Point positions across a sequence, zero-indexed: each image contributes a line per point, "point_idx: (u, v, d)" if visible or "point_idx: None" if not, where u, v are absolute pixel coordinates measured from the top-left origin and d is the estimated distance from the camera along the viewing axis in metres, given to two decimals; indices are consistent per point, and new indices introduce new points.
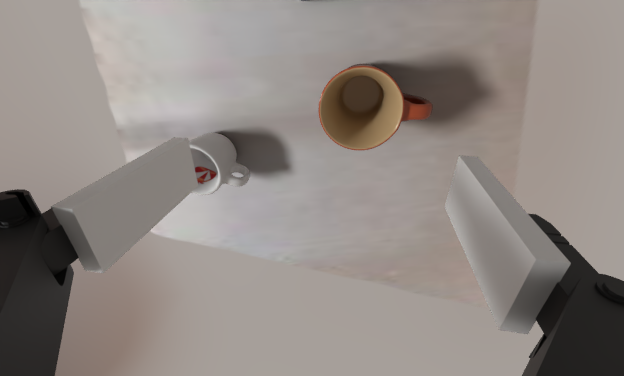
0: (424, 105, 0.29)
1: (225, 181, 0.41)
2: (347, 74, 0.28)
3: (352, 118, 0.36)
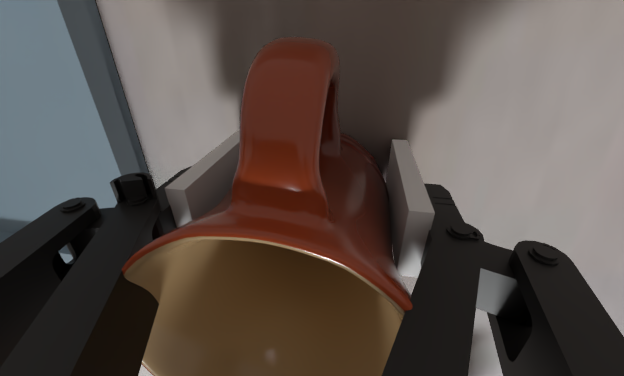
0: (242, 106, 0.05)
1: None
2: (168, 350, 0.09)
3: None
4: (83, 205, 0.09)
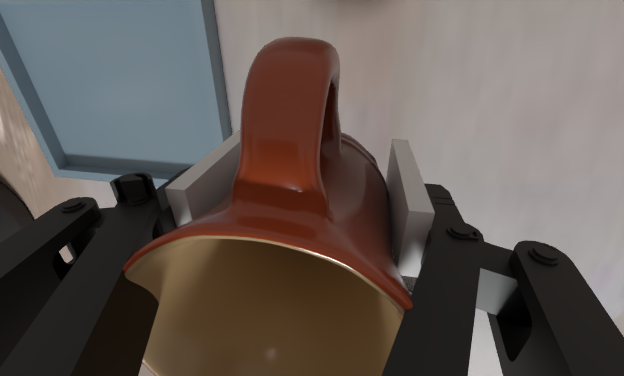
0: (243, 105, 0.05)
1: None
2: (169, 349, 0.09)
3: None
4: (83, 205, 0.09)
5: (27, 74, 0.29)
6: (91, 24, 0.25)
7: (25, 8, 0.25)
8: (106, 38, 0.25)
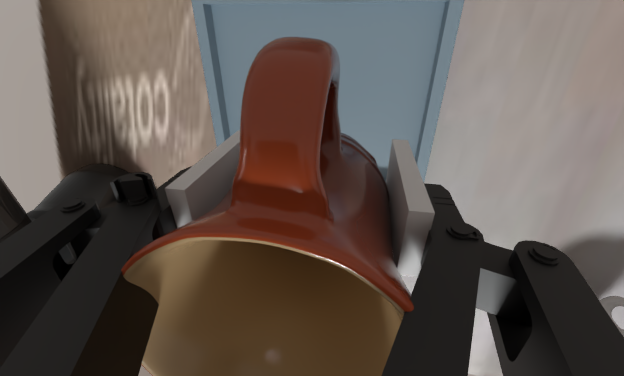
0: (242, 106, 0.05)
1: None
2: (168, 350, 0.09)
3: None
4: (83, 205, 0.09)
5: (220, 75, 0.28)
6: (312, 24, 0.25)
7: (243, 8, 0.25)
8: (324, 38, 0.25)
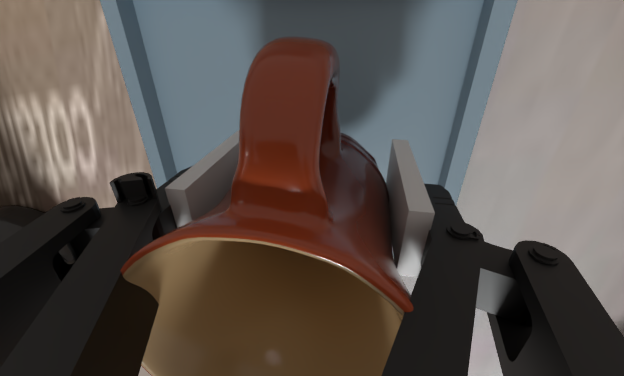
0: (242, 106, 0.05)
1: None
2: (167, 351, 0.09)
3: None
4: (83, 205, 0.09)
5: (156, 96, 0.20)
6: (283, 23, 0.16)
7: None
8: None
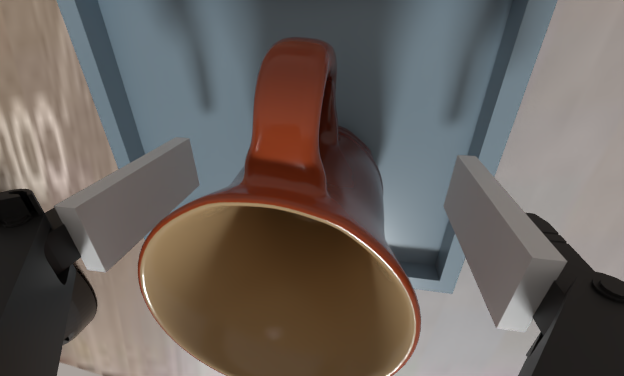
0: (255, 93, 0.06)
1: None
2: (183, 315, 0.10)
3: None
4: None
5: (129, 105, 0.17)
6: (271, 21, 0.14)
7: None
8: None
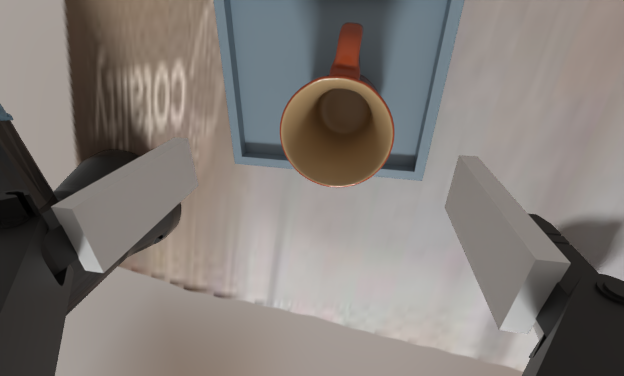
0: (338, 40, 0.19)
1: None
2: (291, 147, 0.23)
3: (367, 128, 0.27)
4: None
5: (236, 64, 0.30)
6: (324, 17, 0.27)
7: (260, 1, 0.27)
8: (335, 30, 0.27)
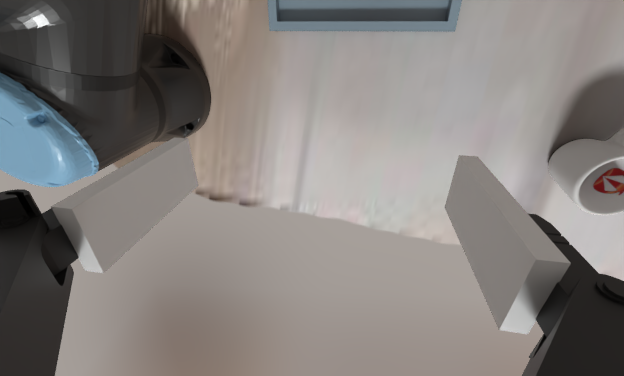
0: None
1: None
2: None
3: None
4: None
5: None
6: None
7: None
8: None
